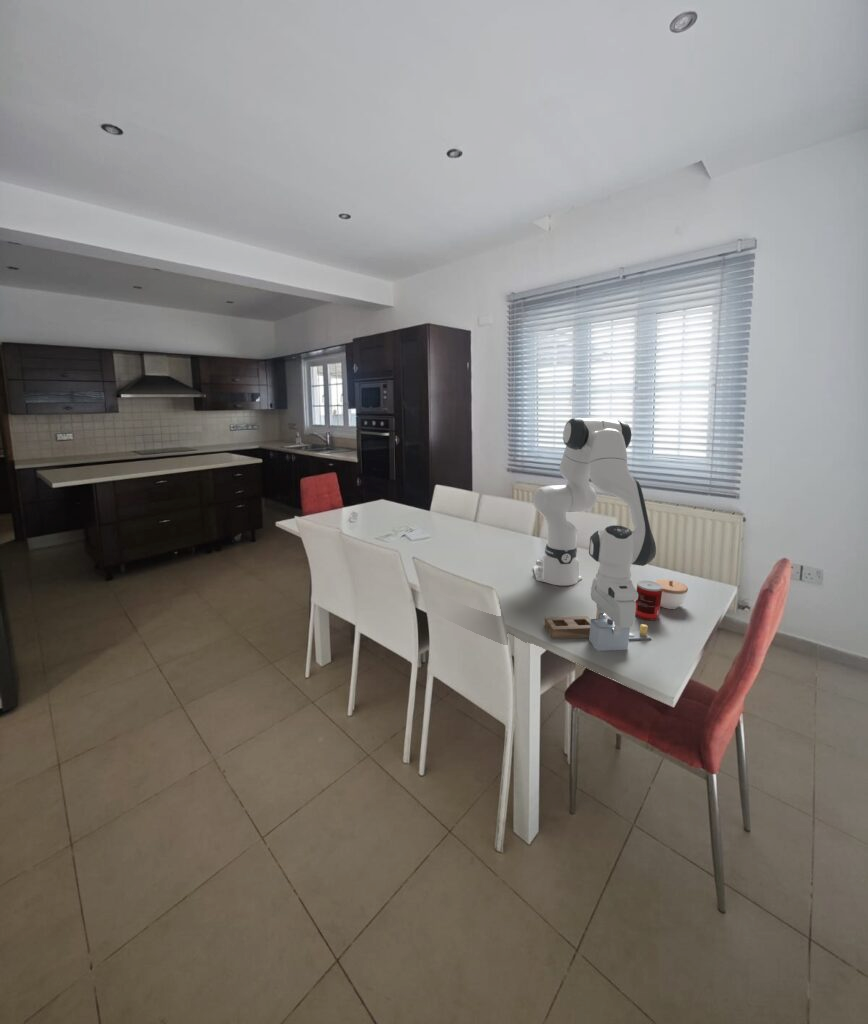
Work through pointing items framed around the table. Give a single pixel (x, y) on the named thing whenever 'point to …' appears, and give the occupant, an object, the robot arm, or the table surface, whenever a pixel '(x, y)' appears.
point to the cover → (607, 635)
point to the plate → (637, 637)
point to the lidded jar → (672, 593)
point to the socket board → (568, 626)
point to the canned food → (648, 600)
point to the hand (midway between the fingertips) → (608, 626)
